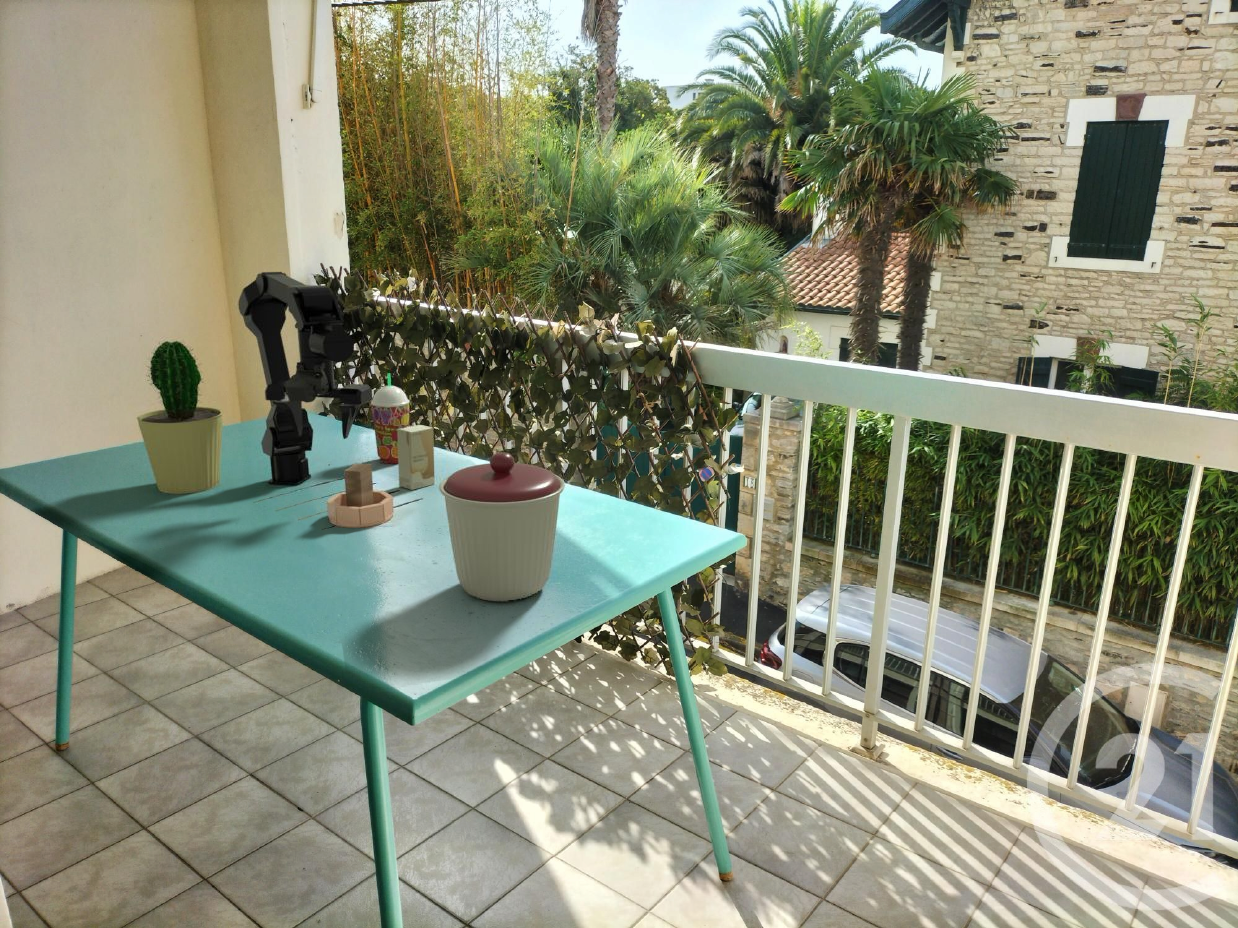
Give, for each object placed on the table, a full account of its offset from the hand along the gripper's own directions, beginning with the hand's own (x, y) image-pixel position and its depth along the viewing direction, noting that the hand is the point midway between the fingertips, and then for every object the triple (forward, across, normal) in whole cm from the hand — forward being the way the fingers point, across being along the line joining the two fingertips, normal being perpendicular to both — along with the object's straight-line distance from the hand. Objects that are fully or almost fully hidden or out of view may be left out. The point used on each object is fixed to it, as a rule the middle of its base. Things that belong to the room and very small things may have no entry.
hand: (322, 437), depth 163 cm
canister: (+13, +44, -33) cm, 57 cm away
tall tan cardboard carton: (+12, +10, -7) cm, 17 cm away
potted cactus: (+13, -32, +5) cm, 35 cm away
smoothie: (+13, +1, +31) cm, 34 cm away
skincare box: (+13, +13, +14) cm, 23 cm away
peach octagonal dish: (+13, +10, -7) cm, 18 cm away
